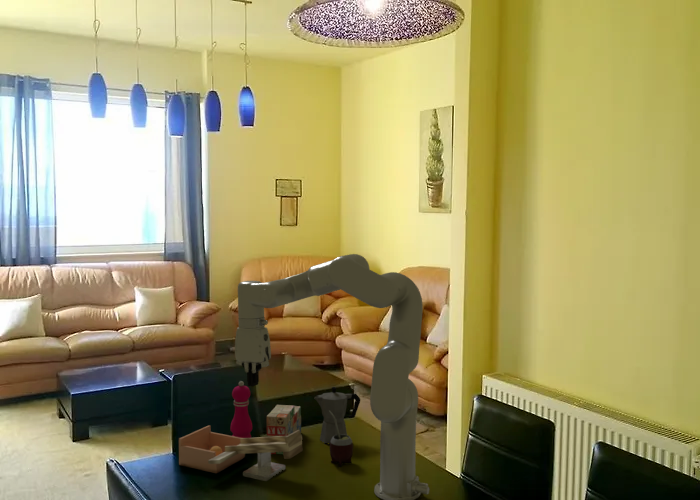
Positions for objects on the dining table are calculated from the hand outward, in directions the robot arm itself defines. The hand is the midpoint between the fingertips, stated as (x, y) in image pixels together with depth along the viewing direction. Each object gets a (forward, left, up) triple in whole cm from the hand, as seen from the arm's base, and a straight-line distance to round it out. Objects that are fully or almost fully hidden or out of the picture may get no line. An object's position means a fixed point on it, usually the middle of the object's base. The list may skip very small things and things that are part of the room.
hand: (253, 385), depth 196 cm
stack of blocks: (+4, -23, -26) cm, 35 cm away
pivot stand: (-4, +1, -25) cm, 26 cm away
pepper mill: (+18, -18, -25) cm, 36 cm away
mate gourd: (-20, -16, -25) cm, 36 cm away
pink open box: (+15, +1, -25) cm, 29 cm away
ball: (+13, +1, -22) cm, 26 cm away
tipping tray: (-5, +5, -20) cm, 21 cm away
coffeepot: (-10, -33, -25) cm, 43 cm away
